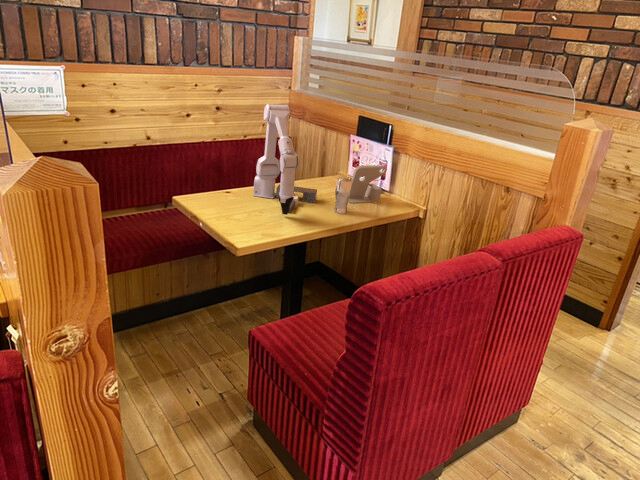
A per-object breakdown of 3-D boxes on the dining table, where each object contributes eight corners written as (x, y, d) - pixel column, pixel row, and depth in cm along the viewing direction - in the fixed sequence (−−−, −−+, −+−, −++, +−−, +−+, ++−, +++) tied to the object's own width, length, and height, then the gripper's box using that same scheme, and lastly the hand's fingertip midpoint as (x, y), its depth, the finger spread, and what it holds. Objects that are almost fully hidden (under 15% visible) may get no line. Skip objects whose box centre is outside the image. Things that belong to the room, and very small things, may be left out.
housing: (275, 198, 229) (276, 187, 227) (278, 194, 235) (279, 184, 233) (314, 203, 227) (315, 193, 225) (316, 199, 233) (317, 189, 231)
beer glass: (348, 210, 224) (352, 178, 218) (348, 215, 217) (352, 182, 211) (333, 208, 224) (337, 176, 218) (332, 213, 218) (336, 180, 212)
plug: (282, 212, 213) (283, 204, 212) (289, 202, 226) (289, 195, 224) (291, 213, 213) (292, 206, 211) (297, 203, 225) (298, 196, 224)
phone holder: (371, 195, 248) (377, 160, 241) (382, 202, 239) (388, 165, 232) (341, 197, 240) (345, 160, 233) (350, 204, 232) (355, 166, 225)
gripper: (293, 189, 195) (291, 221, 201) (300, 179, 208) (297, 209, 214) (276, 186, 196) (274, 218, 201) (283, 177, 209) (281, 207, 214)
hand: (285, 213), depth 208 cm, fingers closed
